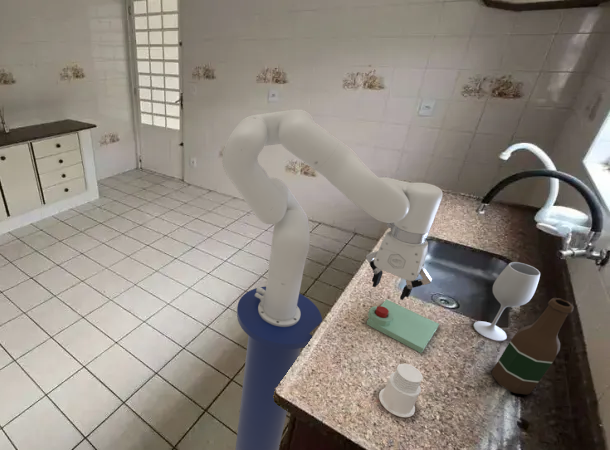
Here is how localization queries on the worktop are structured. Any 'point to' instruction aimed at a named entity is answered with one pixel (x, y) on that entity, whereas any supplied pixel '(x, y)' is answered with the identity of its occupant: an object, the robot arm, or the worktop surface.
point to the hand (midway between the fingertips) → (389, 290)
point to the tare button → (381, 312)
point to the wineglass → (510, 295)
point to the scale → (403, 325)
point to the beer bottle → (532, 350)
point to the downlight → (402, 391)
